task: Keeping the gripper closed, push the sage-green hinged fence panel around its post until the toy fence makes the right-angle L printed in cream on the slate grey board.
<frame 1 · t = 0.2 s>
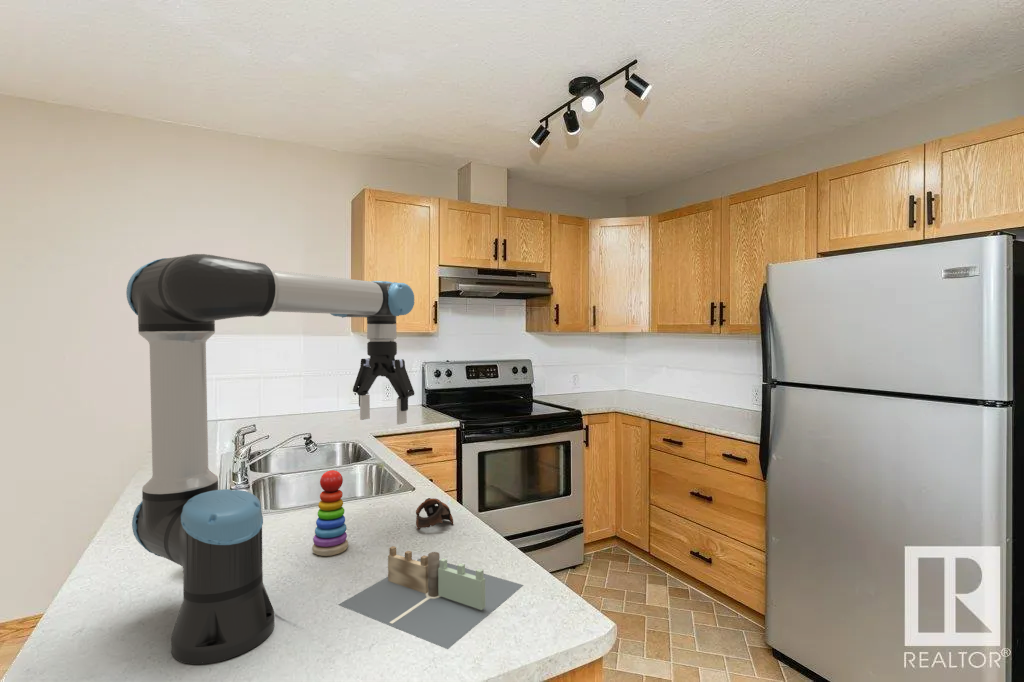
hand: (382, 421, 134), 28 cm above the counter, tool pointing down, fingers open, 13 cm apart
stacking toy: (330, 551, 120), on the counter
brown jagged ring: (434, 526, 135), on the counter
folding panel: (461, 583, 95), point 4 cm above the counter, hinge at 0.0°
layout board: (434, 597, 98), on the counter
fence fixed: (434, 594, 98), resting on layout board
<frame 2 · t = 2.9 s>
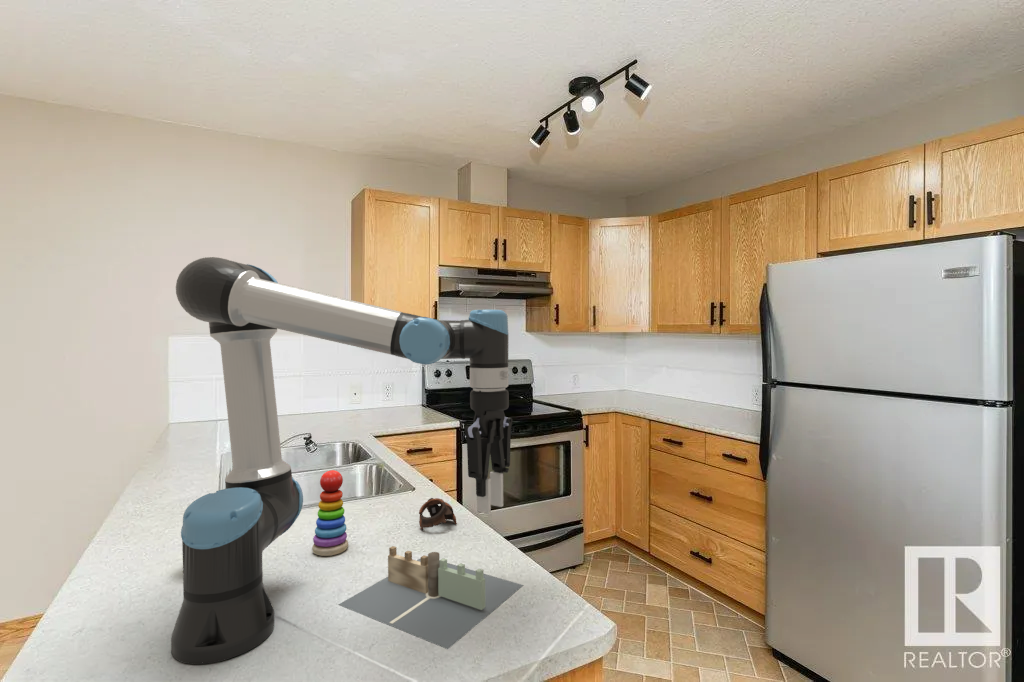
hand: (490, 508, 100), 17 cm above the counter, tool pointing down, fingers open, 4 cm apart
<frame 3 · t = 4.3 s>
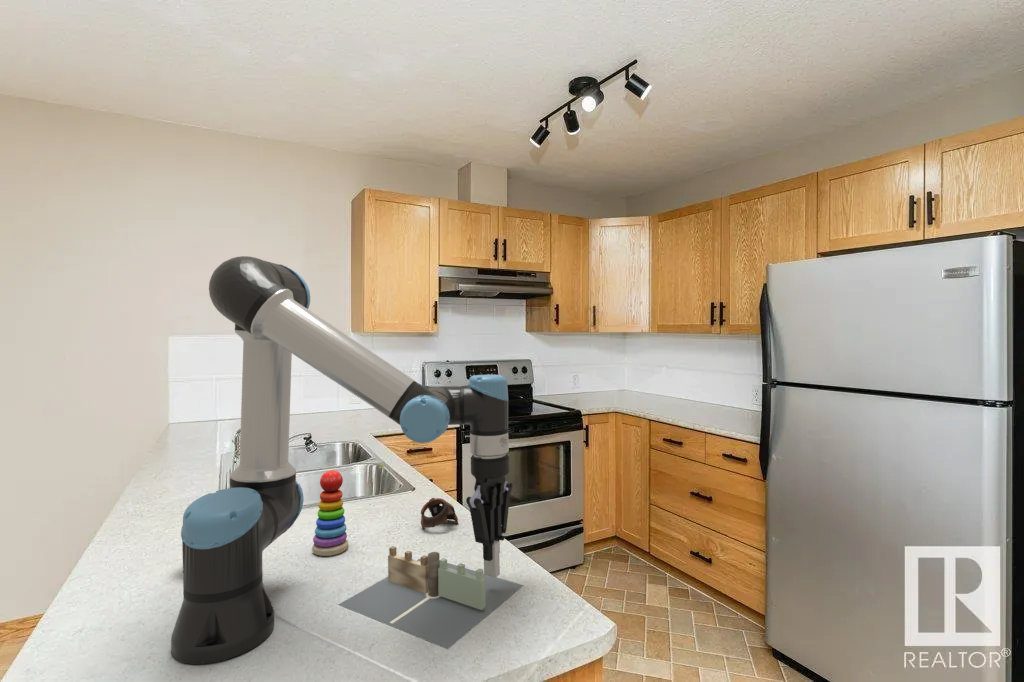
hand: (491, 574, 100), 4 cm above the counter, tool pointing down, fingers closed
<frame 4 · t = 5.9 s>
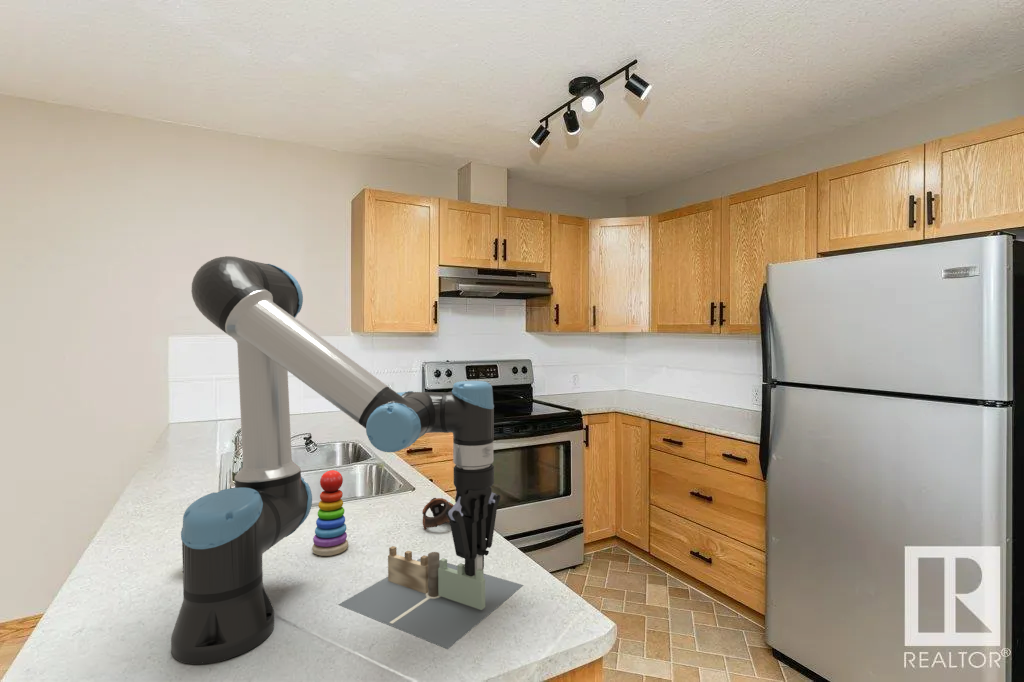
hand: (474, 589, 95), 3 cm above the counter, tool pointing down, fingers closed
folding panel: (461, 583, 95), point 4 cm above the counter, hinge at 0.0°, touching gripper
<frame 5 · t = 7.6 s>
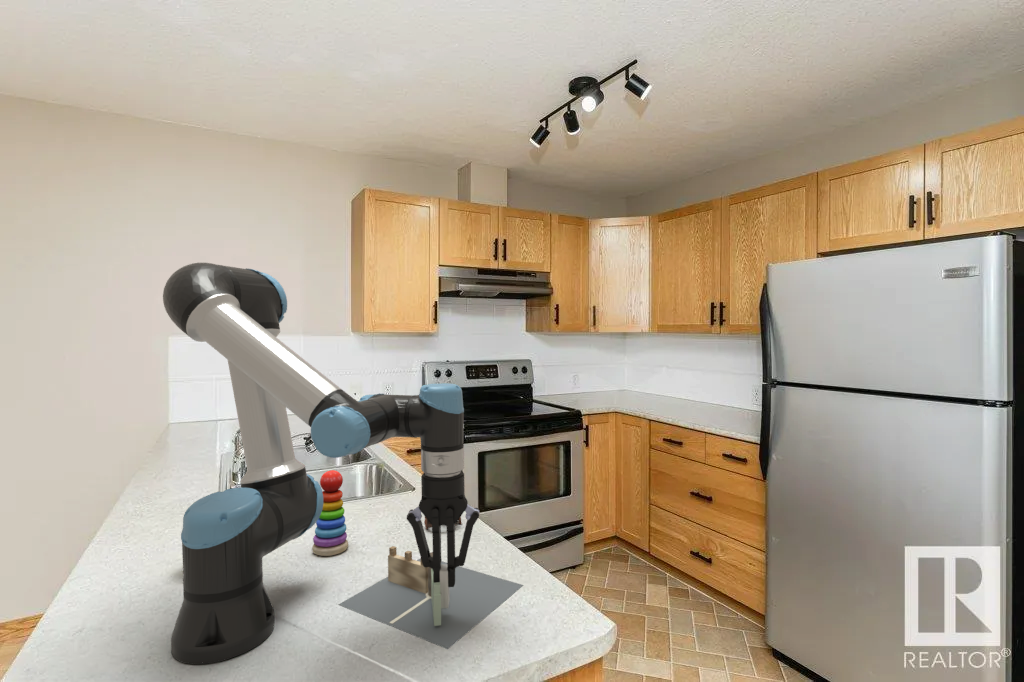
hand: (444, 604, 90), 3 cm above the counter, tool pointing down, fingers closed
folding panel: (435, 591, 92), point 4 cm above the counter, hinge at 46.8°, touching gripper
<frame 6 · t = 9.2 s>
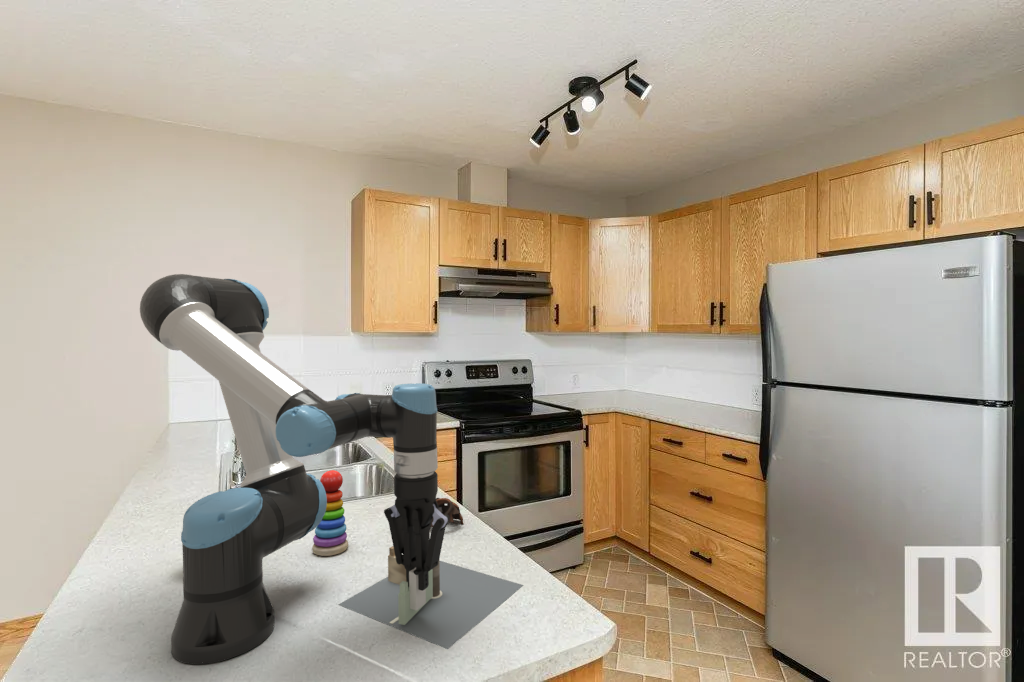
hand: (417, 605, 90), 3 cm above the counter, tool pointing down, fingers closed
folding panel: (416, 590, 92), point 4 cm above the counter, hinge at 78.0°, touching gripper
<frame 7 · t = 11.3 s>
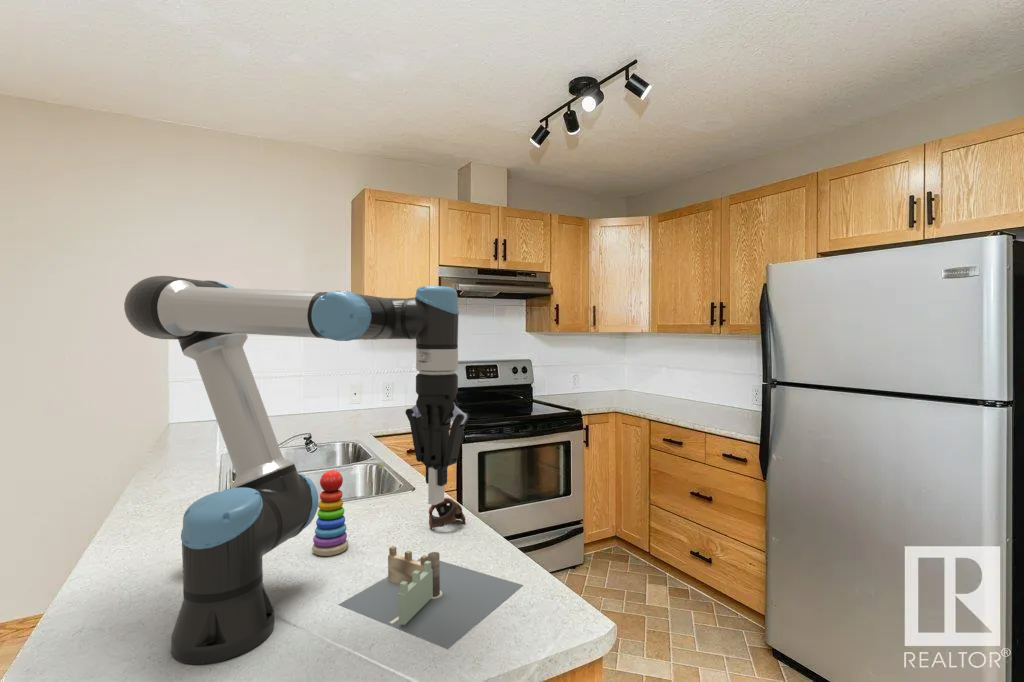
hand: (436, 502, 93), 20 cm above the counter, tool pointing down, fingers closed
folding panel: (416, 590, 92), point 4 cm above the counter, hinge at 78.0°
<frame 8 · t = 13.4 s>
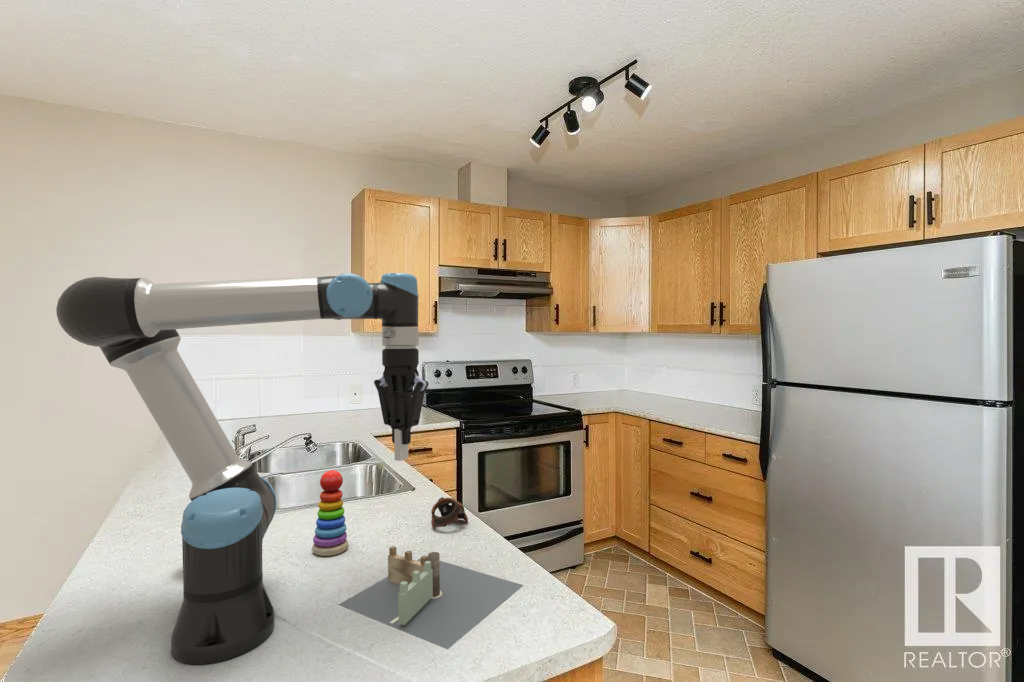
hand: (401, 459, 108), 24 cm above the counter, tool pointing down, fingers closed
at the end: folding panel at +78° (first picture: +0°) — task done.
